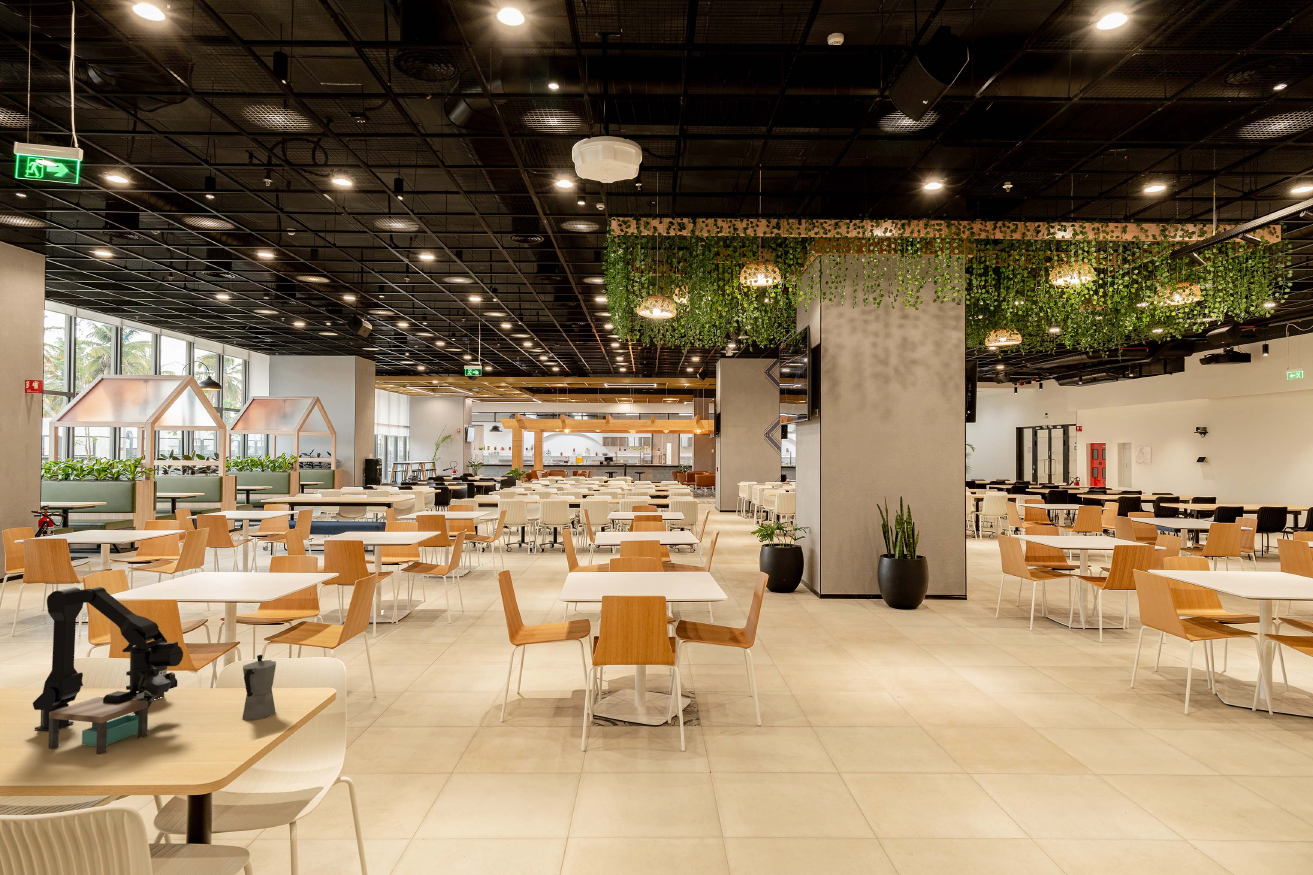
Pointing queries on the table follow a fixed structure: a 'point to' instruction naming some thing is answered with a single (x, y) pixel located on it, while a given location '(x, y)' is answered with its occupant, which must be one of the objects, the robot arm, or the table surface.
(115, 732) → the tray
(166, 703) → the table surface
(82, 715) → the wooden step stool
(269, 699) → the coffeepot
